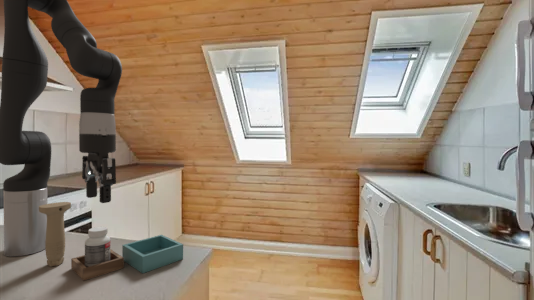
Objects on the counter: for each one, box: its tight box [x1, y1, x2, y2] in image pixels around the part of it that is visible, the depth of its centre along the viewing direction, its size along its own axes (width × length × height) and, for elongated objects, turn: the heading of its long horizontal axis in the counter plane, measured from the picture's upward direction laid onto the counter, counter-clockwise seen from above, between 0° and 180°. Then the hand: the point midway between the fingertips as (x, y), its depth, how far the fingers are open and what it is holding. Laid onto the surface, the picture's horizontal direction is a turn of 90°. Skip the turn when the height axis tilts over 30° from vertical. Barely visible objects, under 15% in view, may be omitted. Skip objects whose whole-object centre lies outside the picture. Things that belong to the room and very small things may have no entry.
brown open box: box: [70, 248, 125, 282], centre depth 68 cm, size 9×9×2 cm
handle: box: [39, 201, 72, 267], centre depth 70 cm, size 5×6×15 cm
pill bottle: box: [84, 226, 111, 267], centre depth 68 cm, size 5×5×10 cm
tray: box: [121, 234, 184, 274], centre depth 74 cm, size 11×11×4 cm
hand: (98, 199), depth 68 cm, fingers open, 8 cm apart
